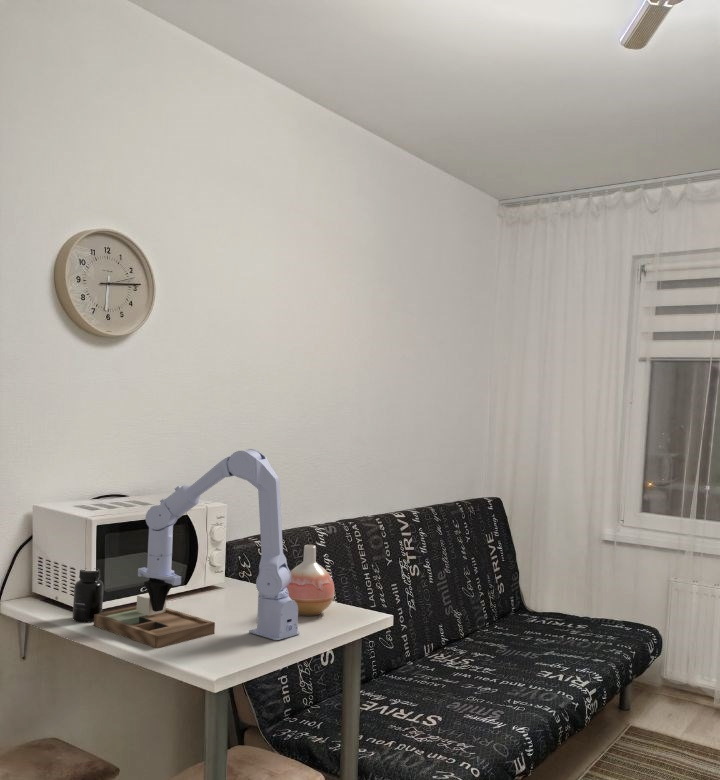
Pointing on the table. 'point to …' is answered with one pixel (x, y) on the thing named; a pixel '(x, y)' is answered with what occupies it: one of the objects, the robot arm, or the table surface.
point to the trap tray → (154, 626)
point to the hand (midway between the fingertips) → (157, 610)
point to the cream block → (146, 605)
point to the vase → (311, 585)
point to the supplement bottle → (87, 596)
